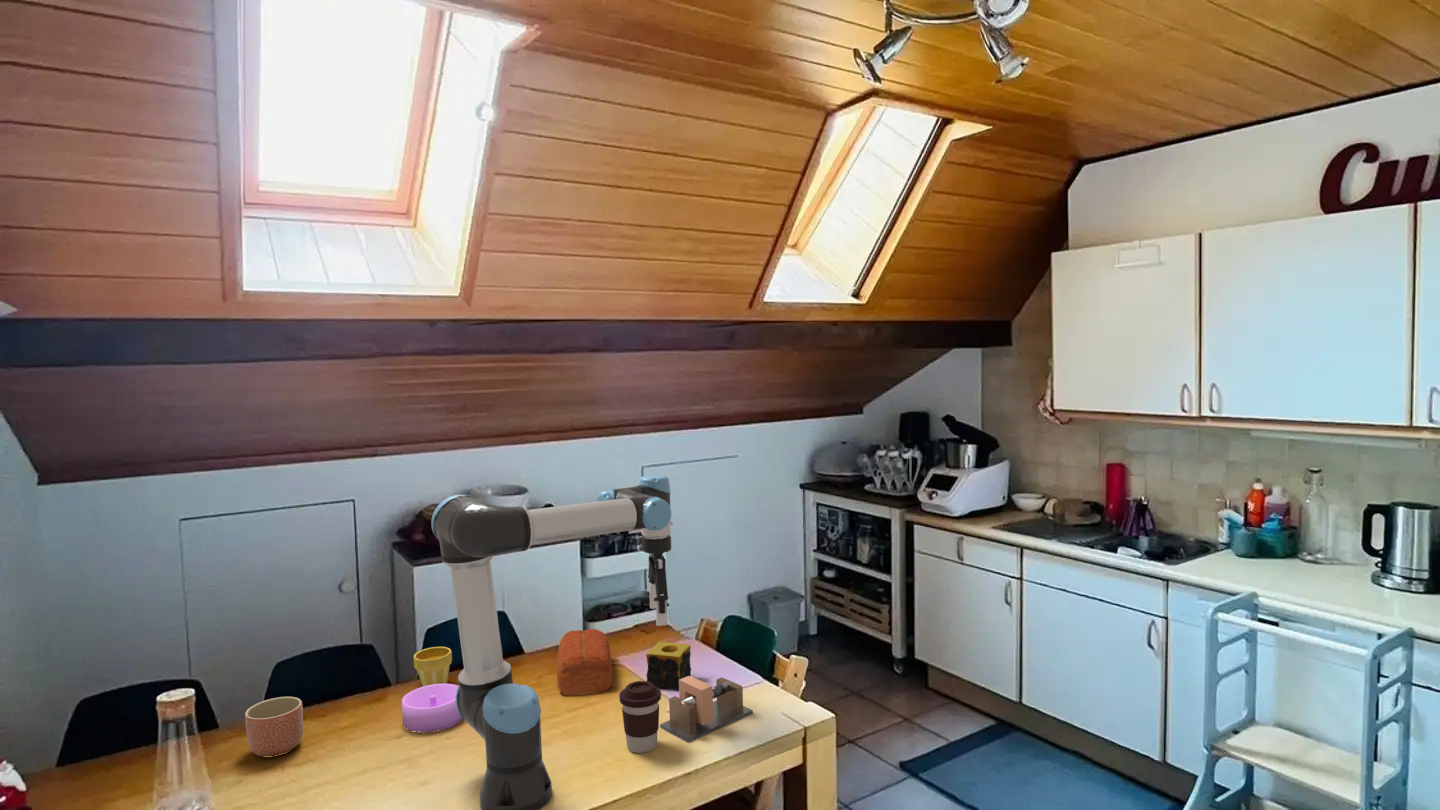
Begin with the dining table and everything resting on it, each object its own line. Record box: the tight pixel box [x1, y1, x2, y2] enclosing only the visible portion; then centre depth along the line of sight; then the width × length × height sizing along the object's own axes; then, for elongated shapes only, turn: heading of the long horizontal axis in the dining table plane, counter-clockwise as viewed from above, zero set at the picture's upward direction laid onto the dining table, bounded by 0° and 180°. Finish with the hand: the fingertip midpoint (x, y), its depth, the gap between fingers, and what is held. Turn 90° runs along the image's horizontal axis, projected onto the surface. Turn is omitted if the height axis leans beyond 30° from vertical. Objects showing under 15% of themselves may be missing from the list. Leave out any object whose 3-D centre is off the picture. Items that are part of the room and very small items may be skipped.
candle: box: [645, 641, 692, 692], centre depth 237 cm, size 10×10×10 cm
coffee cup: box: [618, 680, 662, 754], centre depth 200 cm, size 10×10×15 cm
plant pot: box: [413, 646, 453, 687], centre depth 239 cm, size 10×10×10 cm
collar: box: [678, 675, 714, 725], centre depth 210 cm, size 4×9×9 cm, turn 42°
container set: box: [401, 683, 464, 733], centre depth 219 cm, size 25×15×13 cm, turn 103°
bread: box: [556, 628, 613, 697], centre depth 243 cm, size 16×27×11 cm, turn 10°
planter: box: [244, 696, 304, 757], centre depth 203 cm, size 12×12×11 cm
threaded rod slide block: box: [659, 677, 754, 743], centre depth 213 cm, size 22×11×8 cm, turn 132°
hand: (658, 616), depth 215 cm, fingers open, 13 cm apart
